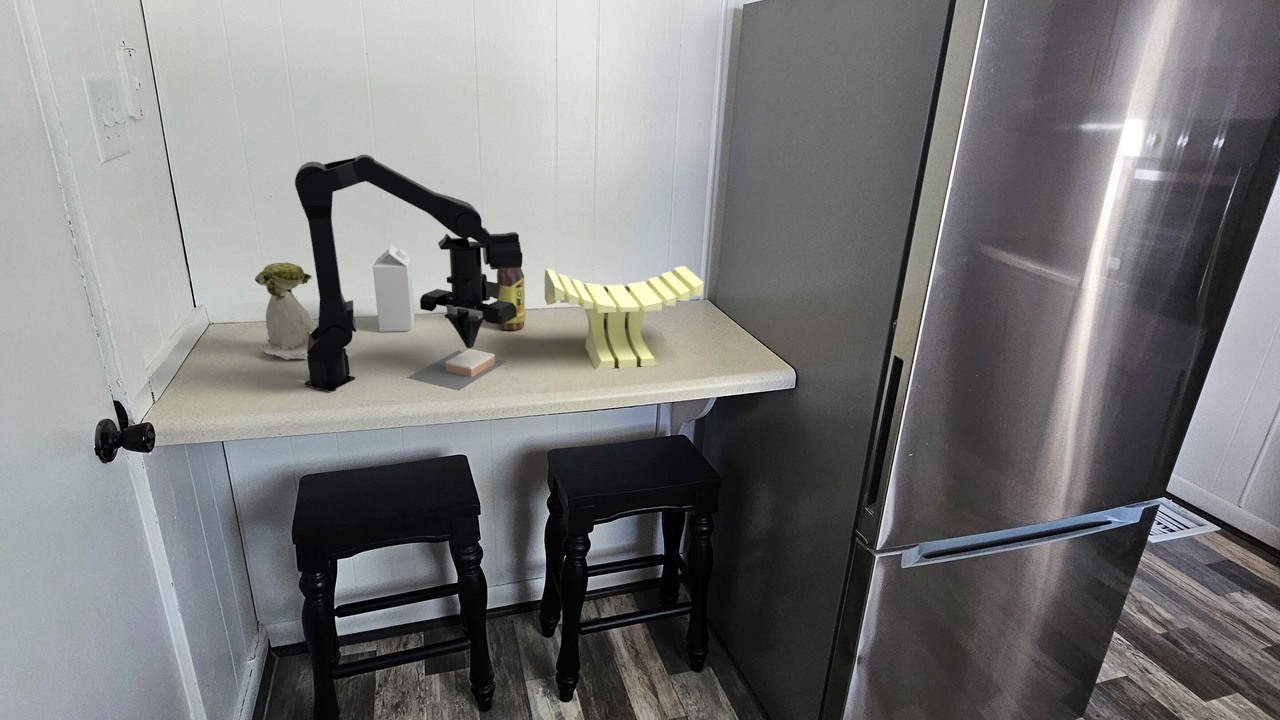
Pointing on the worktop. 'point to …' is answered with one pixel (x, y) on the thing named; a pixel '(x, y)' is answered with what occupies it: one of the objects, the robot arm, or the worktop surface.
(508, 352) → the worktop surface
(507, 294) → the sauce bottle
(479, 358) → the tile
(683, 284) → the yellow slatted pedestal stand
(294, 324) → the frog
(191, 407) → the worktop surface
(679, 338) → the worktop surface
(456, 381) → the mat
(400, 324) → the milk carton
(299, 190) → the robot arm
